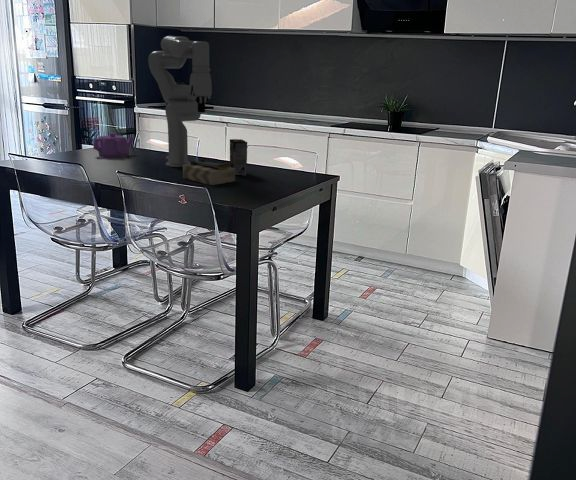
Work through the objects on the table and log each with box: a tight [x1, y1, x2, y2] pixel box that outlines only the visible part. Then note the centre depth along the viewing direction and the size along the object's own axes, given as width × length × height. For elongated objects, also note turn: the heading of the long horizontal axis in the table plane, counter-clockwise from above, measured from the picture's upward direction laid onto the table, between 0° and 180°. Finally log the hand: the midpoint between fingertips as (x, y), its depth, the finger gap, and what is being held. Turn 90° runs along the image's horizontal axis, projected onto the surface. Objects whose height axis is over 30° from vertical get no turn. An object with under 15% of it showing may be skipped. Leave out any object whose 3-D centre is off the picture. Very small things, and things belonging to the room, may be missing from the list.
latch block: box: [182, 159, 236, 186], centre depth 253 cm, size 20×14×8 cm
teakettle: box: [93, 132, 134, 159], centre depth 304 cm, size 17×17×12 cm
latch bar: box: [195, 161, 220, 167], centre depth 253 cm, size 16×4×1 cm, turn 48°
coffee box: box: [229, 138, 248, 176], centre depth 268 cm, size 9×6×16 cm
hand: (201, 112), depth 256 cm, fingers closed
